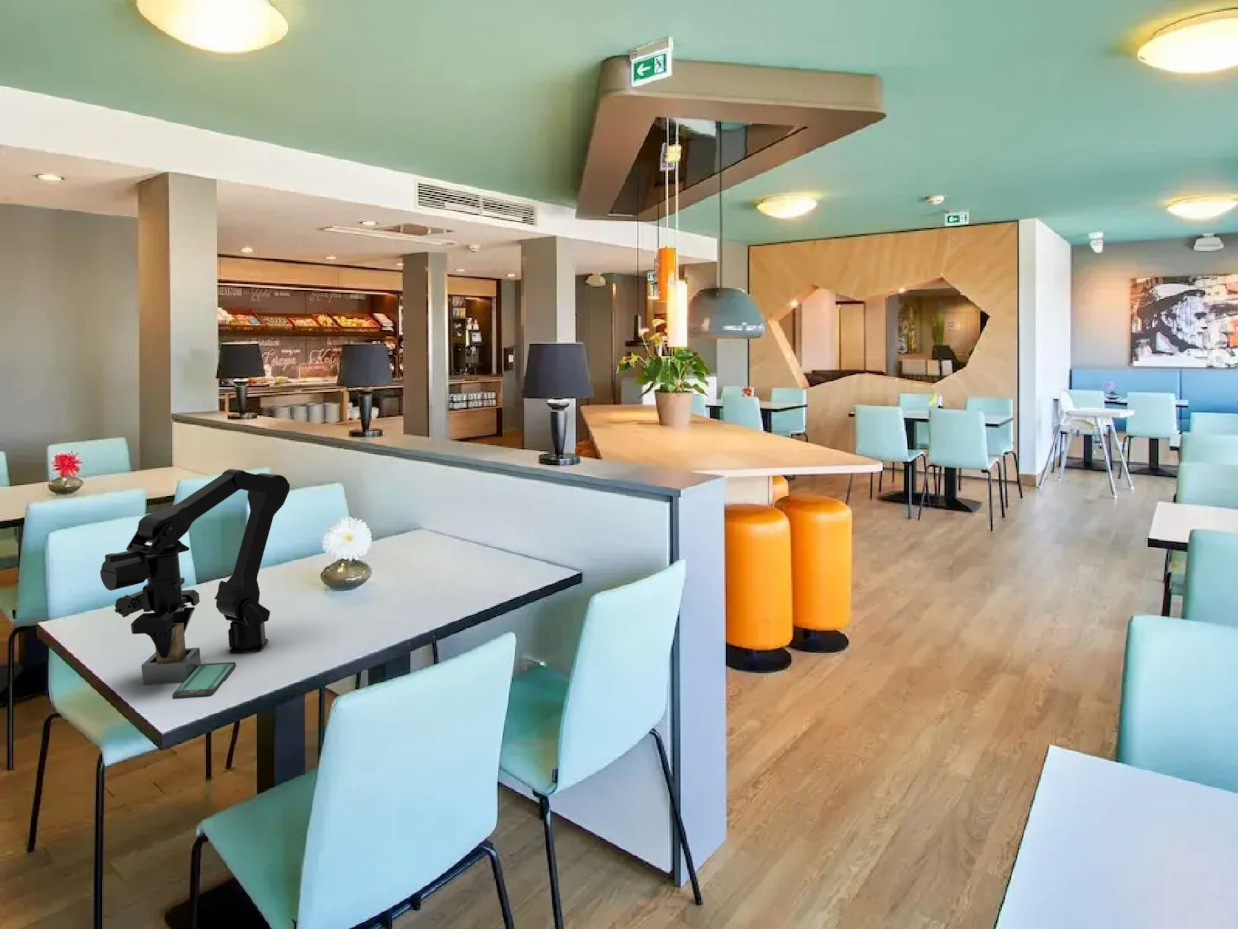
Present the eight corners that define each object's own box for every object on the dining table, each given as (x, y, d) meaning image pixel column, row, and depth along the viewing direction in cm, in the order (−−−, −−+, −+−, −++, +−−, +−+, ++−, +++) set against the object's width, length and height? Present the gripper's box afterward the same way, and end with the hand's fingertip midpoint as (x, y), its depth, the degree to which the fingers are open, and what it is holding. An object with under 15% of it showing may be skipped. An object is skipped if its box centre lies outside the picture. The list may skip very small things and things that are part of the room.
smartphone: (170, 695, 147) (199, 663, 161) (171, 701, 147) (200, 668, 162) (212, 692, 148) (237, 660, 163) (213, 698, 148) (238, 666, 163)
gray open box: (201, 665, 162) (199, 647, 162) (186, 681, 154) (185, 662, 154) (159, 668, 161) (157, 650, 160) (143, 684, 153) (141, 665, 153)
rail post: (187, 669, 160) (183, 622, 159) (179, 677, 156) (175, 629, 155) (166, 670, 159) (162, 623, 158) (158, 678, 155) (154, 630, 154)
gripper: (140, 566, 162) (147, 637, 165) (97, 593, 144) (105, 673, 147) (197, 563, 164) (203, 634, 167) (161, 590, 146) (169, 669, 148)
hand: (170, 651), depth 157 cm, fingers open, 6 cm apart
